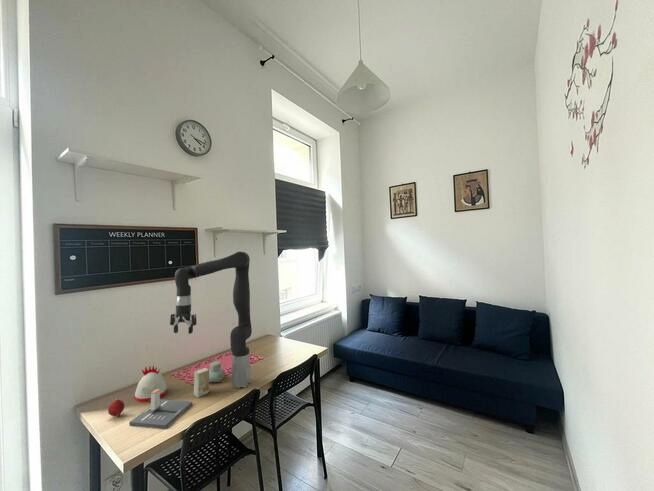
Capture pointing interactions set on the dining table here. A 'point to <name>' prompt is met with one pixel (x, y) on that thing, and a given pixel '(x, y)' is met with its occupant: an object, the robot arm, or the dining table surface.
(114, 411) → the onion
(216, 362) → the air freshener
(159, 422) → the console
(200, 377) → the skincare box
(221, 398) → the dining table surface
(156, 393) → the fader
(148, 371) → the kitchen timer
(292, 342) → the dining table surface
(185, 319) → the robot arm
